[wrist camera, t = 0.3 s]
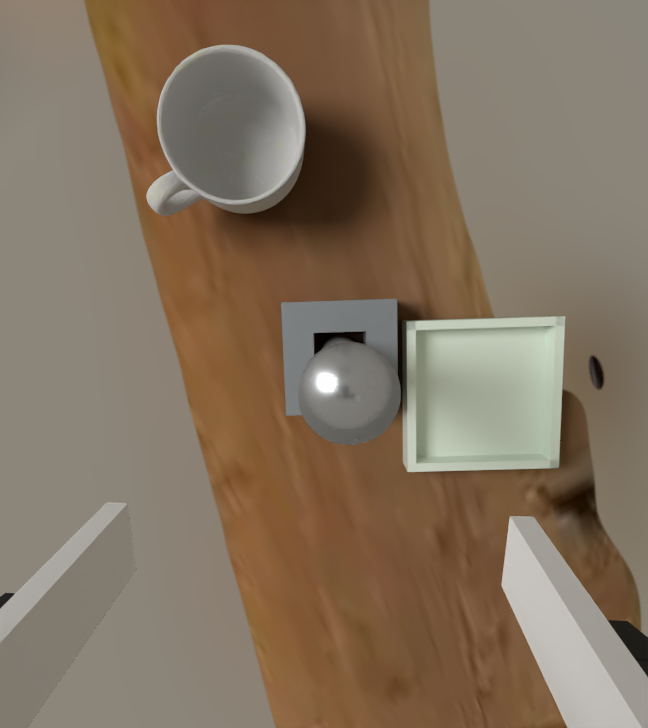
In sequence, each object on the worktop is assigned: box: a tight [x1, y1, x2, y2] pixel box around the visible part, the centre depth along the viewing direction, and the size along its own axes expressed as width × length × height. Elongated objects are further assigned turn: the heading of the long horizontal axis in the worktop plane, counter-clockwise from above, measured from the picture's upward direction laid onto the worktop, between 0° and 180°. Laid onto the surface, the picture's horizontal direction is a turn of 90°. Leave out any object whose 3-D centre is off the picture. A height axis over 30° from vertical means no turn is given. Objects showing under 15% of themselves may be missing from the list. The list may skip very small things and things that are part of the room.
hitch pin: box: [298, 335, 401, 445], centre depth 31 cm, size 5×5×19 cm
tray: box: [402, 316, 565, 472], centre depth 39 cm, size 14×14×2 cm
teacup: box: [147, 45, 306, 216], centre depth 34 cm, size 14×11×8 cm
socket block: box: [281, 299, 398, 416], centre depth 38 cm, size 10×10×4 cm
